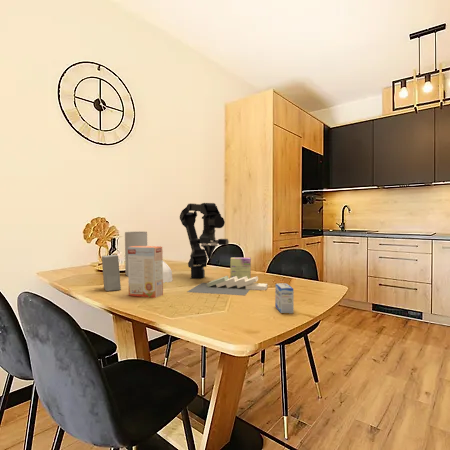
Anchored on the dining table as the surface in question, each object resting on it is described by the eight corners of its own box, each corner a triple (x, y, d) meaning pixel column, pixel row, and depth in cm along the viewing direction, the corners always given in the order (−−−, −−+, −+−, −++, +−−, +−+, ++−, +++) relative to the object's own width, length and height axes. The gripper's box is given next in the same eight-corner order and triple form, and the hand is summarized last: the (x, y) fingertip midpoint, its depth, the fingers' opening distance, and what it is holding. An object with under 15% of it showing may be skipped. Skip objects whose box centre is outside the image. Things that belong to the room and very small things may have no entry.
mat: (186, 293, 132) (186, 291, 132) (202, 283, 151) (202, 282, 151) (245, 296, 125) (245, 295, 125) (253, 286, 144) (253, 285, 144)
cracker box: (163, 295, 128) (163, 246, 128) (154, 299, 123) (154, 247, 122) (137, 292, 134) (137, 245, 134) (128, 295, 129) (127, 246, 128)
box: (250, 279, 161) (250, 257, 160) (250, 281, 155) (250, 258, 155) (231, 279, 162) (231, 257, 161) (230, 281, 156) (230, 258, 156)
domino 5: (245, 285, 136) (265, 286, 134) (248, 282, 142) (267, 283, 140) (245, 289, 136) (265, 290, 134) (248, 286, 142) (267, 287, 140)
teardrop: (153, 284, 152) (153, 260, 152) (149, 280, 162) (149, 257, 162) (175, 281, 157) (174, 258, 156) (169, 278, 167) (169, 256, 167)
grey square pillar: (144, 276, 172) (143, 232, 171) (122, 276, 172) (121, 232, 172) (150, 272, 184) (149, 231, 184) (129, 272, 185) (128, 231, 184)
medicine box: (275, 307, 110) (274, 283, 110) (287, 306, 110) (287, 282, 110) (280, 314, 102) (280, 288, 102) (294, 313, 102) (293, 287, 102)
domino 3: (225, 284, 139) (243, 278, 136) (229, 282, 144) (246, 276, 142) (227, 288, 139) (245, 281, 136) (230, 285, 144) (247, 279, 142)
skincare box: (121, 290, 139) (120, 255, 139) (104, 292, 136) (103, 256, 135) (117, 286, 147) (117, 253, 146) (101, 288, 143) (101, 254, 143)
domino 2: (215, 284, 140) (233, 278, 138) (219, 281, 146) (236, 275, 143) (217, 287, 140) (234, 281, 137) (220, 284, 146) (237, 279, 143)
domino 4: (236, 284, 137) (254, 278, 135) (239, 282, 143) (257, 276, 141) (237, 288, 137) (256, 281, 135) (240, 285, 143) (258, 279, 141)
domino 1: (206, 283, 141) (224, 277, 139) (210, 281, 147) (227, 275, 145) (207, 287, 141) (225, 281, 139) (212, 284, 147) (228, 278, 144)
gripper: (185, 228, 148) (186, 260, 148) (222, 228, 143) (222, 261, 143) (193, 227, 158) (194, 257, 159) (228, 227, 153) (229, 258, 154)
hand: (209, 258), depth 153 cm, fingers closed
